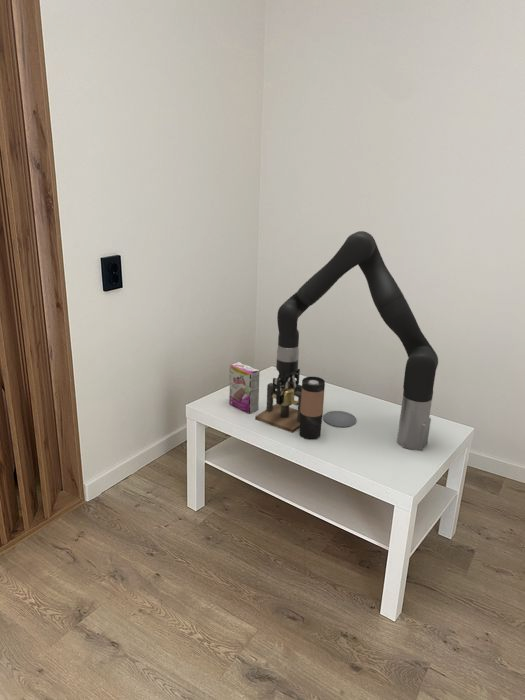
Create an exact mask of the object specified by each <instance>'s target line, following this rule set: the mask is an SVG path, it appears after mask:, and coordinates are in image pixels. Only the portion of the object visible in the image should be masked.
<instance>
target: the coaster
mask: <svg viewBox="0 0 525 700" xmlns="http://www.w3.org/2000/svg"><path fill="white" fill-rule="evenodd" d="M322 421H323V423H325V424H327V425H328V426H331V427H335V428H343V429H344V428H350V427H351V428H352V427H353V426H355V424H356V423H357V417H356V416H355V415H354V414H352V413H349V412H346V411H343V410H332V411H331V410H330V411H327V412H325V413H323V416H322Z"/></svg>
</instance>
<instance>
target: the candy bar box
mask: <svg viewBox="0 0 525 700" xmlns="http://www.w3.org/2000/svg"><path fill="white" fill-rule="evenodd" d="M259 394H260V369H257V368H255V367H253V366H249V365H248V364H245V363H244V362H240V361H236V362H235V363H231V364H230V365H229V403H228V404H229V405H231V406H233V407H235V408H236V409H238V410H241V411H243V412H245V413H247V414H249V415H251V414H254V413H255V412H257V411H259V403H260V402H259V401H260V400H259V399H260V398H259V396H260V395H259Z"/></svg>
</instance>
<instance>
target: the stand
mask: <svg viewBox="0 0 525 700" xmlns="http://www.w3.org/2000/svg"><path fill="white" fill-rule="evenodd" d="M266 389H267V391H266V409H265V410H263V411H262V412H260V413H258V414H256V415H255V417H254V419H255V420H256V421H259V422H261V423H263V424H264V423H265V424H267V425H270V426H271V427H275V428H279V429H281V430H284V431H286V432H289V433H295V432H296V431H298V430H300V406H301V392H299V391H296V392H295V393H294V397H297V398H298V400H297V401H298V405H297V409H295V408H293V407H290V406H282V405H279V404H277V403H274V398H272V395H273V393H272V392H273V382H269V383H267V386H266Z"/></svg>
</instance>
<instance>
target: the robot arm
mask: <svg viewBox="0 0 525 700" xmlns="http://www.w3.org/2000/svg"><path fill="white" fill-rule="evenodd" d="M356 266H358V267H359V269H360V270H361V272H362V273H363V275H364V277H365V279H366V282H367V286H368V290H369V292H370V296H371V298H372V301H373V304H374V306H375V308H376V310H377V311H378V312H377V313H379V315H380V318H382V321H383V322H384V323H385V324H386V325H387V327H388V328H389V329H390V330H391V331H392V332H393V333H394V334H395V335H396V336H397V337H398V340H400V342H401V343H402V346H403V348H404V350H405V352H406V355H407V357H408V358H407V360H406V364H405V368H404V378H403V384H402V385H403V387H402V388H403V392H402V393H403V394H402V398H401V399H402V400H401V401H402V402H401V407H400V408H401V409H400V416H399V421H398V422H399V423H398V429H397V430H398V431H397V437H396V442H397V444H398V445H400V446H401V447H403V448H405V449H408V450H418V451H422V450H423V449H424V448H425V447H426V445H428V441H429V435H430V428H431V422H432V418H431V417H430V416H431V408H432V403H433V398H434V397H433V396H434V387H435V380H436V379H435V378H436V372H437V368H438V365H439V357H438V355H437V353H436V351H435V349H434V348H433V347H432V345H431V344H430V342H429V341H428V339H427V338H426V336H425V335H424V334H423V332H422V329H421V328H420V326H419V324H418V321H417V319H416V318H415V315H414V313H413V311H412V309H411V307H410V305H409V303H408V300H407V299H406V297H405V295H404V294H403V292H402V290H401V289H400V287H399V285H398V283H397V282H396V280H395V278H394V277H393V275H392V274H391V272H390V271H389V269H388V267H387V266H386V264H385V261H384V260H383V257H382V254H381V252H380V249H379V246H378V245H377V242H376V240H375V238H374V236H373V235H372V234H370V233H369V232H367V231H363V230H360V231H356V232H354V233H352V234H350V235H349V236H348V237H347V238H346V239H345V241H344V243H342V245H341V246H340V248H339V249H338V251H337V252H336V253H335V254H334V256H333V257H331V259H330V260H329V261H328V262H326V264H324V266H323V267H321V268H320V269H319V270H318V271H316V273H314V274H313V275H312V276H311V277H310V278H309V279H307V281H305V282H304V284H303V285H301V286H300V287H299V288H298V289H297V291H296V292H294V294H292V295H291V296H290V297H289V298H288V299H286V301H285V302H283V304H281V305H280V306H279V308H278V311H277V321H276V322H277V328H278V338H277V339H278V341H277V348H276V349H277V350H276V362H275V363H276V365H275V367H276V368H275V369H276V370H277V372H278V375H277V377H273V378H272V383H273V392H272V393H273V394H275V395H276V399H275V402H276V403H277V404H279V405H281V404H282V403H283V392H284V390H285V389H286V388H287V385H289V386H291V387H293V388H294V393H295V387H296V385H297V384H299V385H300V373H301V372H300V371H301V369H300V368H299V357H300V356H299V353H300V352H299V350H300V349H299V345H300V344H299V343H300V342H299V341H300V332H299V330H298V320H299V318H300V317H301V316H302V315H303V313H305V311H306V310H308V308H310V307H311V306H312V305H314V304H316V303H317V302H318V301H319V300H320V299H321V298H322V297H323V296H324V295H325V294H326V293H328V291H329V290H331V288H332V287H333V286H334V285H335V284H336V283H337V282H338V281H339V279H341V278H342V277H343V276H344V275H345V274H347V272H349V271H350V270H351V269H354V267H356ZM280 385H284V386H280ZM280 388H281V392H280ZM276 403H275V404H276Z"/></svg>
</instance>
